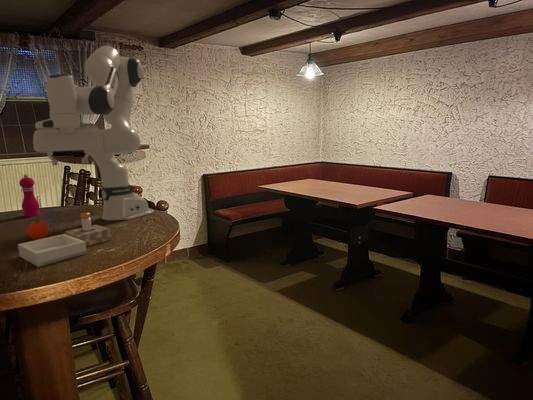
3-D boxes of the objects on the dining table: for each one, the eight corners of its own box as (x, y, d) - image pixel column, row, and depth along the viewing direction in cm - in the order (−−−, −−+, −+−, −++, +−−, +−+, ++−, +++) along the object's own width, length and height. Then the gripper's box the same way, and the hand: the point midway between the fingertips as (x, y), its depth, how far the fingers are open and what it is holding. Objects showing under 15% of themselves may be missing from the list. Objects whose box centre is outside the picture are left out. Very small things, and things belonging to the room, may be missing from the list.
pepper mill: (43, 214, 183) (37, 173, 179) (28, 217, 177) (21, 175, 173) (35, 213, 187) (29, 173, 183) (20, 216, 181) (13, 174, 177)
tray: (65, 245, 130) (64, 233, 129) (86, 253, 120) (85, 241, 119) (19, 256, 120) (17, 244, 119) (38, 266, 110) (36, 253, 109)
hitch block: (96, 235, 142) (95, 224, 141) (111, 239, 135) (110, 228, 134) (66, 242, 134) (64, 231, 133) (79, 247, 126) (78, 236, 126)
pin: (91, 239, 136) (87, 212, 134) (95, 240, 134) (91, 213, 132) (82, 241, 134) (79, 213, 132) (86, 242, 132) (82, 214, 130)
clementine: (21, 242, 136) (18, 223, 135) (35, 236, 143) (32, 218, 142) (41, 242, 135) (38, 223, 134) (54, 236, 142) (51, 218, 140)
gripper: (95, 123, 137) (99, 161, 140) (29, 123, 124) (35, 166, 127) (100, 122, 133) (104, 162, 135) (32, 122, 120) (38, 166, 122)
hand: (70, 164), depth 131 cm, fingers open, 8 cm apart
